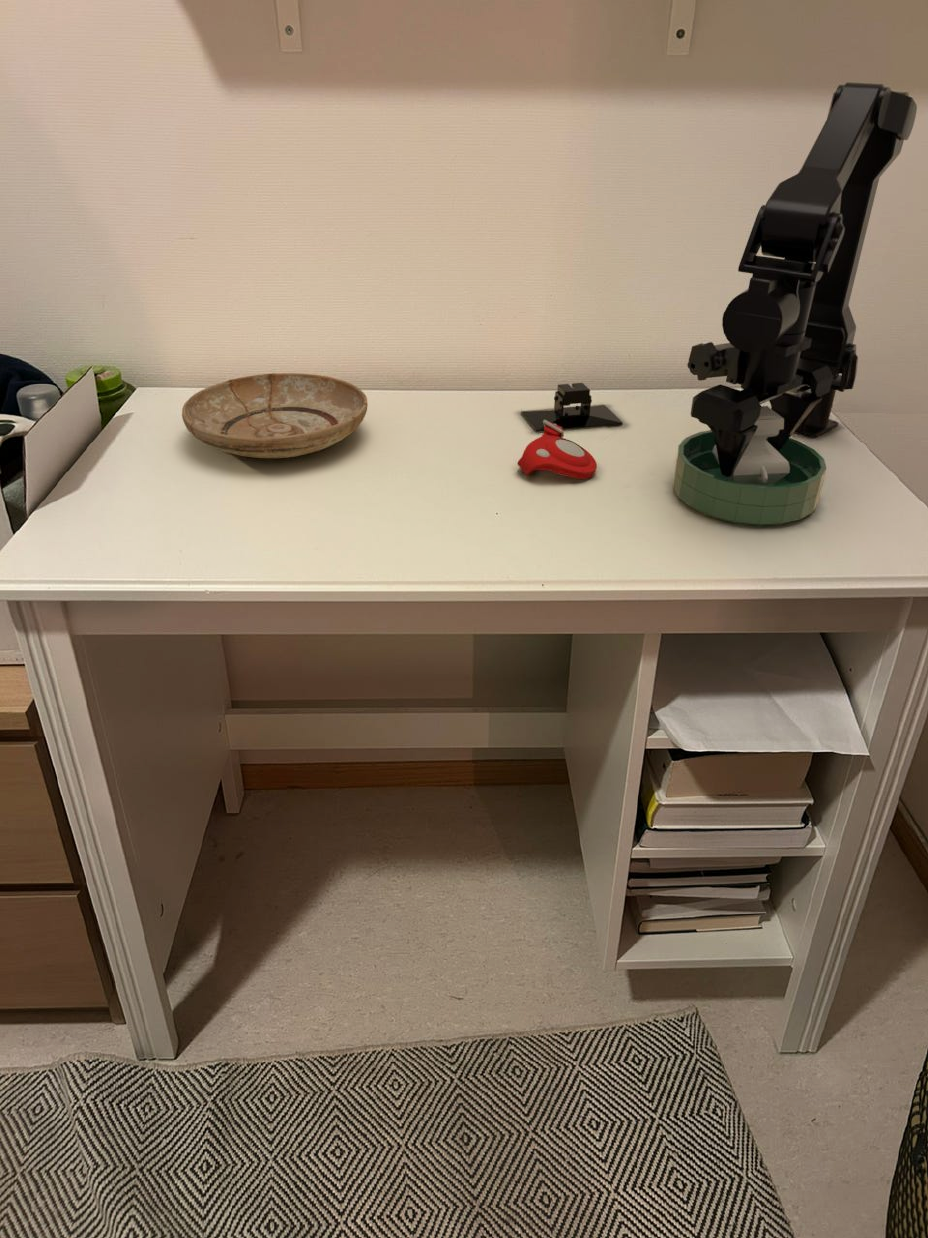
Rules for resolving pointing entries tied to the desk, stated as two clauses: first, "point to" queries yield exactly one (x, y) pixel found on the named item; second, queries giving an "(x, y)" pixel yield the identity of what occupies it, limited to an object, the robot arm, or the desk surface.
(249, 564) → the desk surface
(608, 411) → the build plate
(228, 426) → the ceramic bowl
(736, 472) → the stamp
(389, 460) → the desk surface
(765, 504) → the green bowl
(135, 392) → the desk surface
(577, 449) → the tracker holder
